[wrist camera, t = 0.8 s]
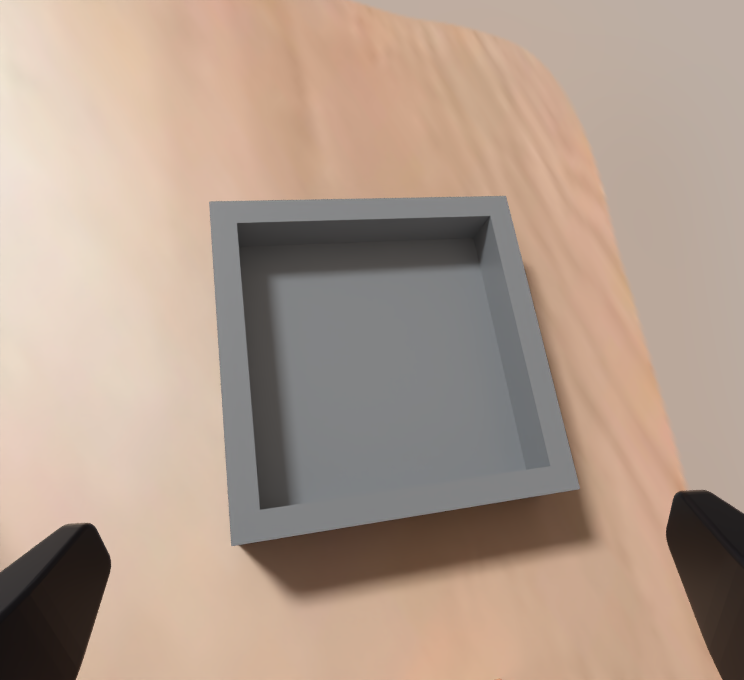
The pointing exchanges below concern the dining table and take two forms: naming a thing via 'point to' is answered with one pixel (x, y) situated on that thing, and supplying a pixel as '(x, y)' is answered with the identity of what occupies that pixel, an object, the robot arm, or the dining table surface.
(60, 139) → the dining table surface
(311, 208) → the tray
